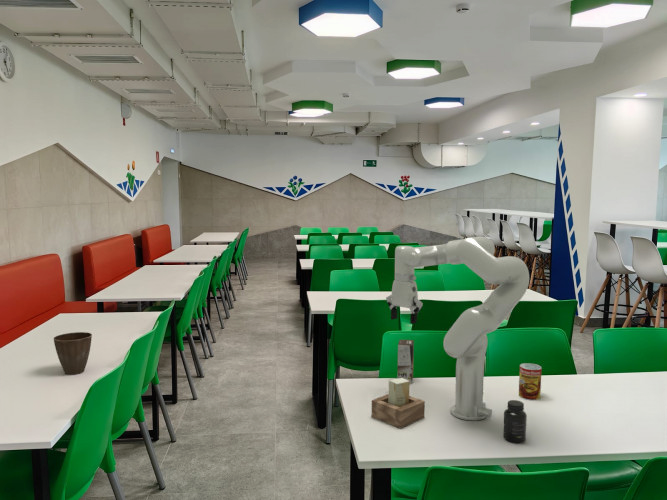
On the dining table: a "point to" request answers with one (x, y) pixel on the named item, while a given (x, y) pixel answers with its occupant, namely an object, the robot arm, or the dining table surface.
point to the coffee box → (405, 359)
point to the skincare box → (398, 392)
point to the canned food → (530, 381)
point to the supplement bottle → (515, 422)
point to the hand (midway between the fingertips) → (403, 321)
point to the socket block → (398, 411)
